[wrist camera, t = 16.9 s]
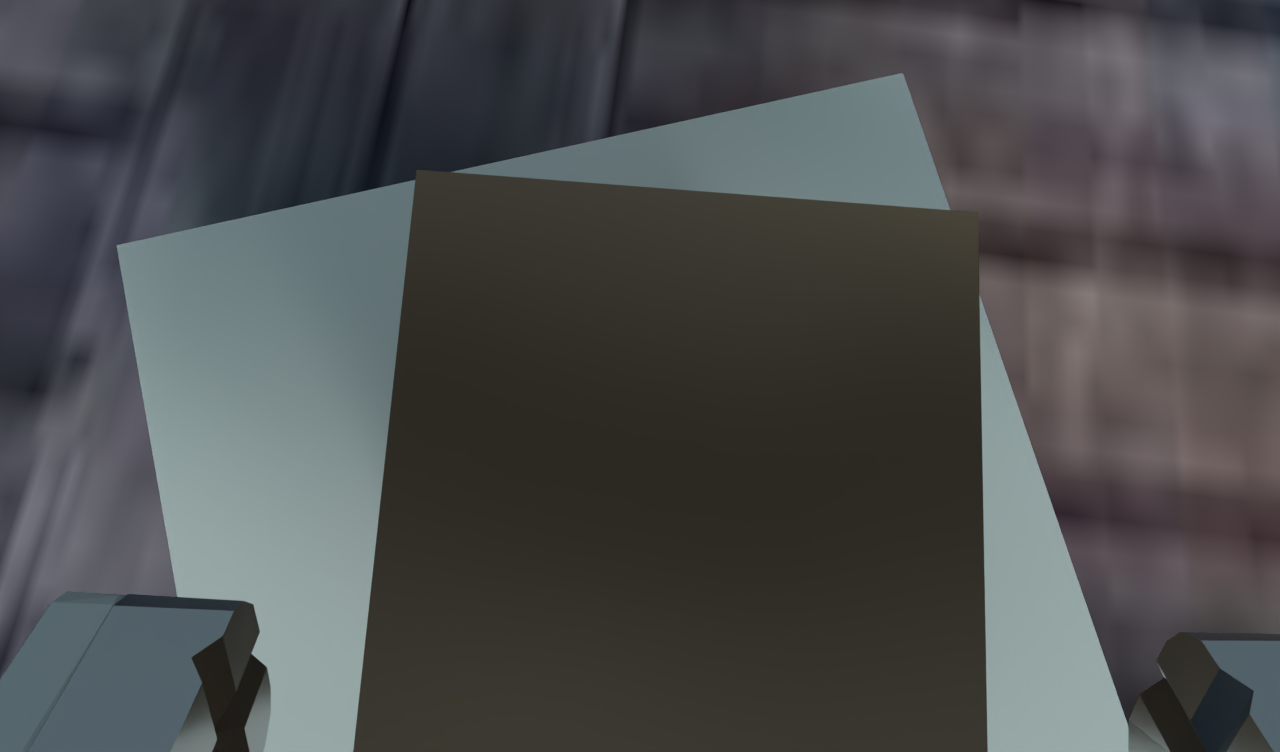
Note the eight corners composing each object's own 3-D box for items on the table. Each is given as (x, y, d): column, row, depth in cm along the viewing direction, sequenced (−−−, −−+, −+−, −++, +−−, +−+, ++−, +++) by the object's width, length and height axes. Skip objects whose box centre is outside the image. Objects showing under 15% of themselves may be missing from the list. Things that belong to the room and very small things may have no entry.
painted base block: (364, 997, 20) (277, 1169, 14) (236, 335, 22) (116, 245, 17) (1012, 794, 21) (1178, 871, 16) (822, 198, 24) (902, 73, 18)
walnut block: (782, 696, 16) (988, 806, 8) (464, 680, 15) (350, 778, 8) (789, 386, 17) (977, 212, 9) (491, 366, 16) (416, 169, 9)
